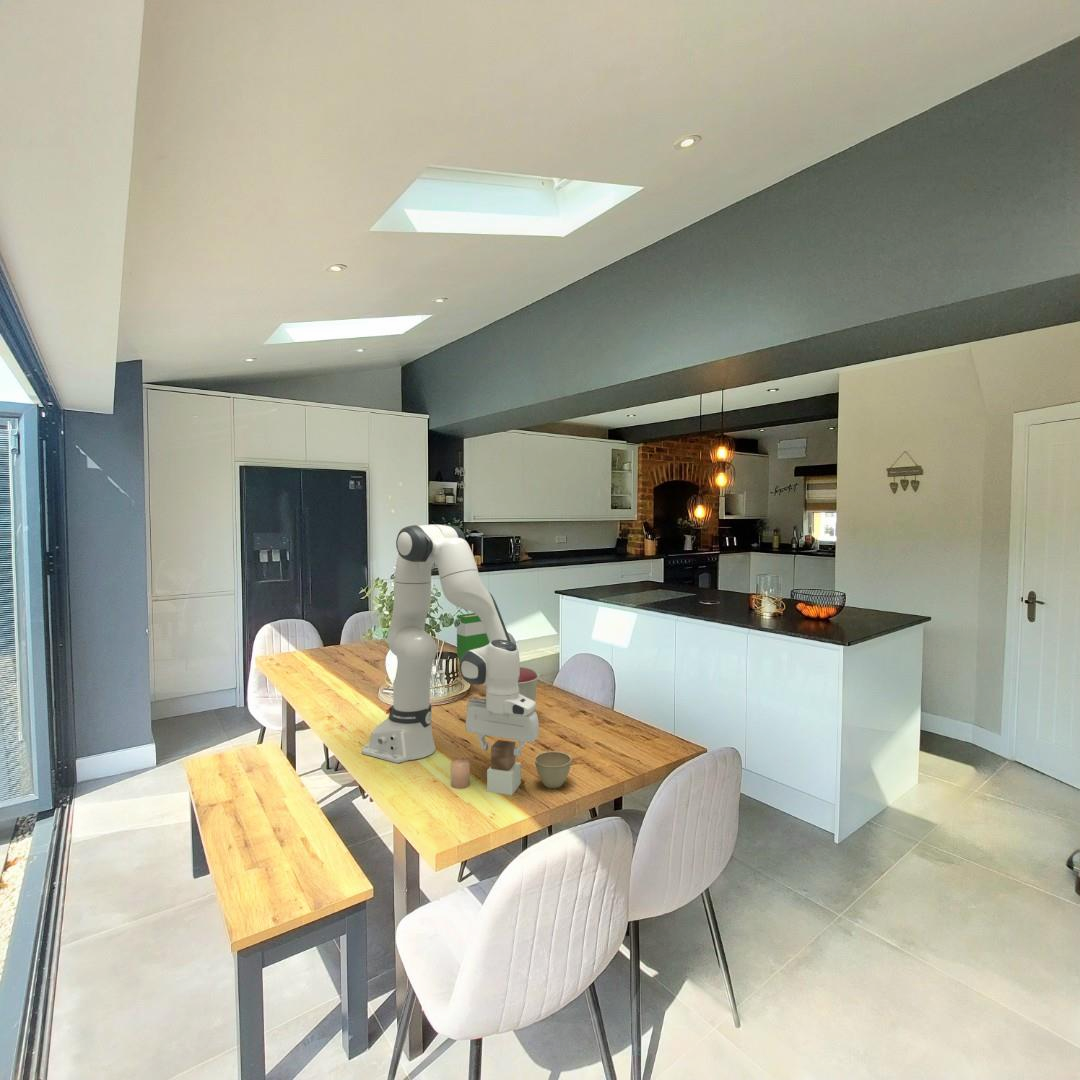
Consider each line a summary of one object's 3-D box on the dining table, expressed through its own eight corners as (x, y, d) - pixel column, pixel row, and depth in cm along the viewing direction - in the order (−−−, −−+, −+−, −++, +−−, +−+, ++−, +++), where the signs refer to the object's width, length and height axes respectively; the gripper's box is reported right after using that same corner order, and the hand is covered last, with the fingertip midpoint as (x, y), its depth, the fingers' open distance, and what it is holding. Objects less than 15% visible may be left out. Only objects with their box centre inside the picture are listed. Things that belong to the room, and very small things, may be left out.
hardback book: (487, 658, 300) (487, 611, 299) (495, 661, 295) (495, 613, 293) (457, 664, 289) (456, 615, 288) (465, 667, 283) (465, 617, 282)
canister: (496, 711, 223) (495, 655, 222) (543, 714, 219) (543, 657, 218) (481, 728, 205) (481, 667, 204) (533, 732, 201) (533, 670, 200)
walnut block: (491, 768, 160) (490, 746, 160) (498, 761, 165) (498, 739, 165) (508, 771, 159) (508, 749, 158) (515, 763, 163) (515, 742, 163)
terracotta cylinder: (448, 787, 162) (447, 765, 162) (456, 779, 167) (456, 758, 166) (465, 790, 161) (464, 768, 160) (472, 781, 165) (472, 760, 165)
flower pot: (540, 774, 170) (540, 749, 170) (575, 778, 167) (575, 753, 167) (530, 789, 161) (530, 763, 160) (566, 795, 158) (566, 768, 157)
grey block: (487, 791, 160) (487, 769, 159) (496, 780, 166) (496, 759, 166) (511, 795, 158) (511, 773, 157) (520, 784, 164) (520, 762, 164)
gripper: (462, 699, 161) (460, 750, 161) (533, 710, 154) (531, 763, 154) (472, 693, 167) (471, 742, 167) (541, 703, 160) (540, 754, 160)
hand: (501, 752), depth 161 cm, fingers open, 8 cm apart
